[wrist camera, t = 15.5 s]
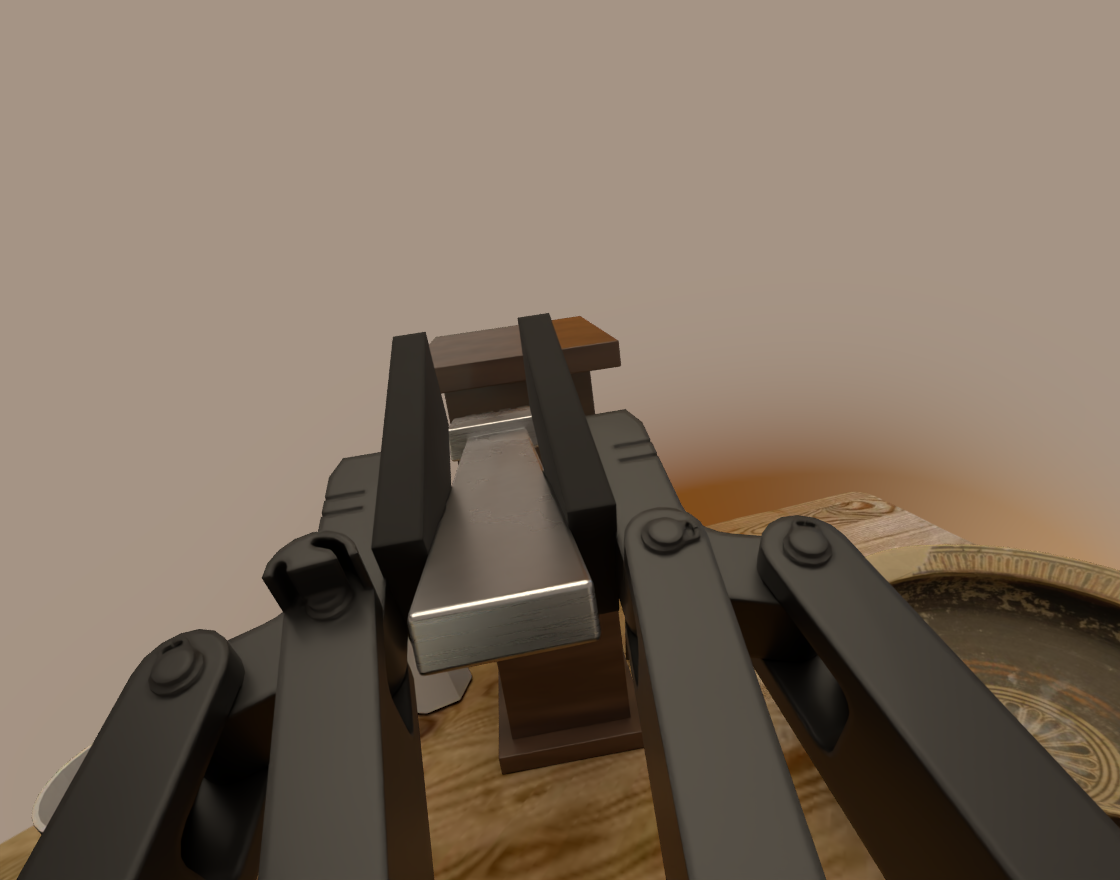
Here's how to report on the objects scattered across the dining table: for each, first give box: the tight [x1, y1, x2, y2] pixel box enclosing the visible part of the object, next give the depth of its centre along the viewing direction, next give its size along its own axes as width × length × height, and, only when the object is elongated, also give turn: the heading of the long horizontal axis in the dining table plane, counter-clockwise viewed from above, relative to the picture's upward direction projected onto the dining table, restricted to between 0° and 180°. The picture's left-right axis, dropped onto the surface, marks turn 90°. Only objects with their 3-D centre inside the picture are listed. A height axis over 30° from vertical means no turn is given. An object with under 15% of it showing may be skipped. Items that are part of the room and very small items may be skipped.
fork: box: [407, 406, 601, 676], centre depth 19 cm, size 24×4×1 cm, turn 7°
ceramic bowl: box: [865, 544, 1120, 828], centre depth 36 cm, size 30×24×10 cm
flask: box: [407, 637, 472, 713], centre depth 51 cm, size 7×7×10 cm
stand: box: [429, 316, 644, 774], centre depth 45 cm, size 16×12×30 cm
